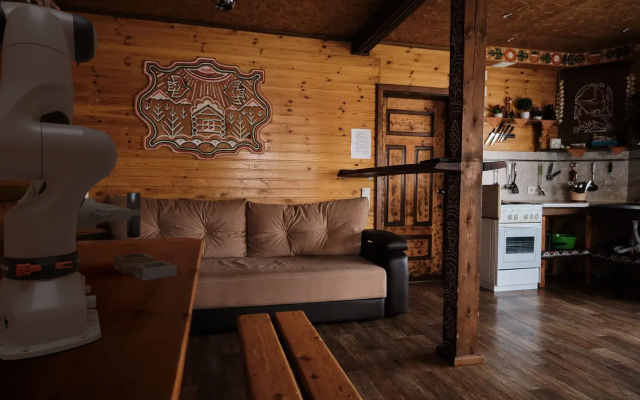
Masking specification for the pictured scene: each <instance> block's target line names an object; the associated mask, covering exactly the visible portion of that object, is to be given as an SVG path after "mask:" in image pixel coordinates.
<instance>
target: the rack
mask: <svg viewBox="0 0 640 400" xmlns="http://www.w3.org/2000/svg"><path fill="white" fill-rule="evenodd" d="M147 262H155V261H154V256H152V255H150V254H148V253H145V252H137V253H128V254H118V255H114V256H113V269H114V270H116V271H118V272H120V273H122V274H128V273H130V274H131V273H132V264H139V263H147Z"/></svg>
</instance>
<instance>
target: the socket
mask: <svg viewBox="0 0 640 400" xmlns="http://www.w3.org/2000/svg"><path fill="white" fill-rule="evenodd" d="M131 275H133V276H135V277H136V278H137V279H140V280H141V281H142V282H143V281H148V280H157V279H163V278H170V277H176V276H178V265H176V264H173V263H171V262H169V261H167V260H164V259H163V260H157V261H154V262H147V263H139V264H132V272H131Z"/></svg>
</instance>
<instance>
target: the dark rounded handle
mask: <svg viewBox="0 0 640 400" xmlns="http://www.w3.org/2000/svg"><path fill="white" fill-rule="evenodd" d="M141 195H142V192H137V191H135V192H133V191H132V192H126V208H128V209H130V210H133V209H138V210H140V215H136V216H131V217H130V220H129V221H125V222H126V223H125V225H126V233H125V237H126V238H130V239H135V238H141V223H142V222H141V216H142V215H141V209H142V208H141V203H142V202H141V200H142V199H141V198H142V197H141Z"/></svg>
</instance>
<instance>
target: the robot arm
mask: <svg viewBox="0 0 640 400" xmlns="http://www.w3.org/2000/svg"><path fill="white" fill-rule="evenodd" d="M98 47H99V38H98V33H97V31H96V28H95V27H94V24H93V22H92V21H91V20H90V19H89V18H88V17H85V16H83V15H80V14H79V13H78V14H77V13H73V14H71V13H69V12H65V11H63V10H58V9H54V8H49V7H46V6H45V7H44V6H41V5H38V4H32V3H25V2H15V1H3V0H0V52H1V54H2V55H1V56H2V57H1V61H2V62H1V64H2V66H1V78H0V181H1V180H6V181H7V180H8V181H10V180H11V181H14V180H15V181H31V182H30V185H29V186H28V189H27V190H26V191H25V193H24V195H23V196H22V197H21V198H20V199H19V200H17V202H16V205H15V204H14V205H13V206H12V207H11V208H9V210H8V211H7V212H6V213H5V215H4V218H3V234H4V235H3V239H4V241H3V246H4V247H3V248H4V250H3V251H4V254H3V255H2V256H1V262H0V270H1V276H2V279H1V280H0V359H1V360H3V361H13V360H14V361H15V360H22V359H29V358H34V357H40V356H44V355H45V356H46V355H49V354H54V353H58V352H62V351H67V350H71V349H73V348H78V347H80V346H84V345H86V344H90V343H92V342H95V341H97V340H99V339H101V337H102V332H101V325H100V319H99V313H98V310H97V309H93V308H96V307H97V296H96V295H95V294H93V295H88V296H87V295H86V294H87V293H91V291H92V290H91V285H86V276H85V275H83V274H82V273H80V271H79V270H80V256H79V251H78V250H77V249H76V247H77V243H76V242H77V241H76V239H77V230H79V229H94V228H95V227H96V224H101V223H102V222H107V223H108V222H109V223H110V222H126V221H129V220H130V217H131V216H136V215H140V210H138V209H133V210H130V209H128V208H127V207H122V206H119V205H115V204H109V203H101V202H100V201H99V202H98V201H97V202H96V200H95V199H94V198H93V197H86V196H87V194H88V193H89V192H90V190H92V189H93V187H95V186H96V185H97V184H98V183H100V182H101V181H102V180H104V179H105V178H107V177H109V175H110V174H111V173H112V171H113V170H114V169H115V167H116V164H117V161H118V150H117V147H116V144H115V142H114V140H113V139H112V137H111V136H110V135H109V134H108V133H107V132H106V131H102V130H99V129H95V128H93V127H91V128H90V127H86V126H83V125H76V124H75V125H74V124H73V118H74V117H73V116H74V104H75V103H74V99H75V98H74V97H75V95H74V92H75V91H74V90H75V89H74V80H73V73H72V62H75V64H76V67H79V66H80V64H84V63H88V62H90V61H91V60H92V59H94V58H95V55H96V52H97V51H98Z"/></svg>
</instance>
